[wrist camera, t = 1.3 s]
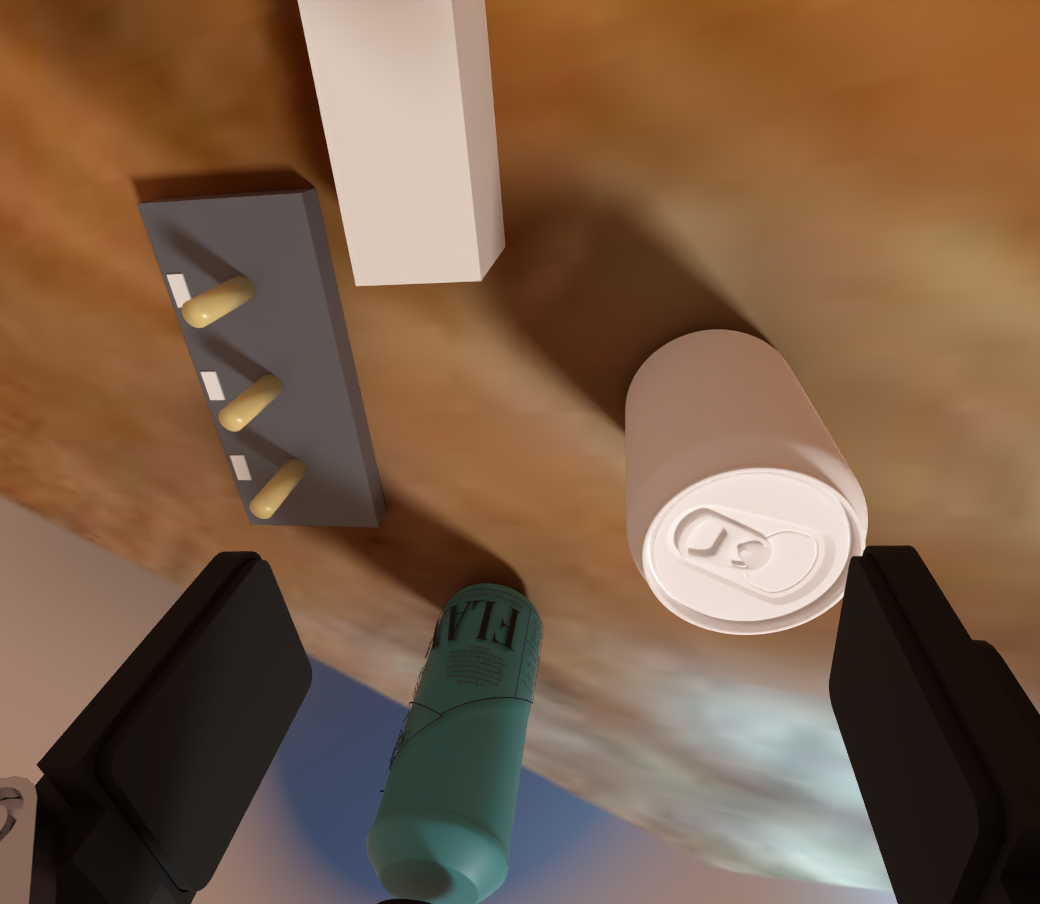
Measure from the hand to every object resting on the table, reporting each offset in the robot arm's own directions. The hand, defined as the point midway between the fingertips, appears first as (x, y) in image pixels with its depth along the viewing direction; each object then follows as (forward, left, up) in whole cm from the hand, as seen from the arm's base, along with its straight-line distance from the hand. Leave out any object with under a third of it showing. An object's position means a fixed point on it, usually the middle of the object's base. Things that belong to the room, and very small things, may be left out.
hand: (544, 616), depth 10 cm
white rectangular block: (-8, -7, -22) cm, 24 cm away
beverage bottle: (+21, -7, -22) cm, 31 cm away
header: (+5, -17, -22) cm, 28 cm away
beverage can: (+7, +5, -22) cm, 24 cm away
